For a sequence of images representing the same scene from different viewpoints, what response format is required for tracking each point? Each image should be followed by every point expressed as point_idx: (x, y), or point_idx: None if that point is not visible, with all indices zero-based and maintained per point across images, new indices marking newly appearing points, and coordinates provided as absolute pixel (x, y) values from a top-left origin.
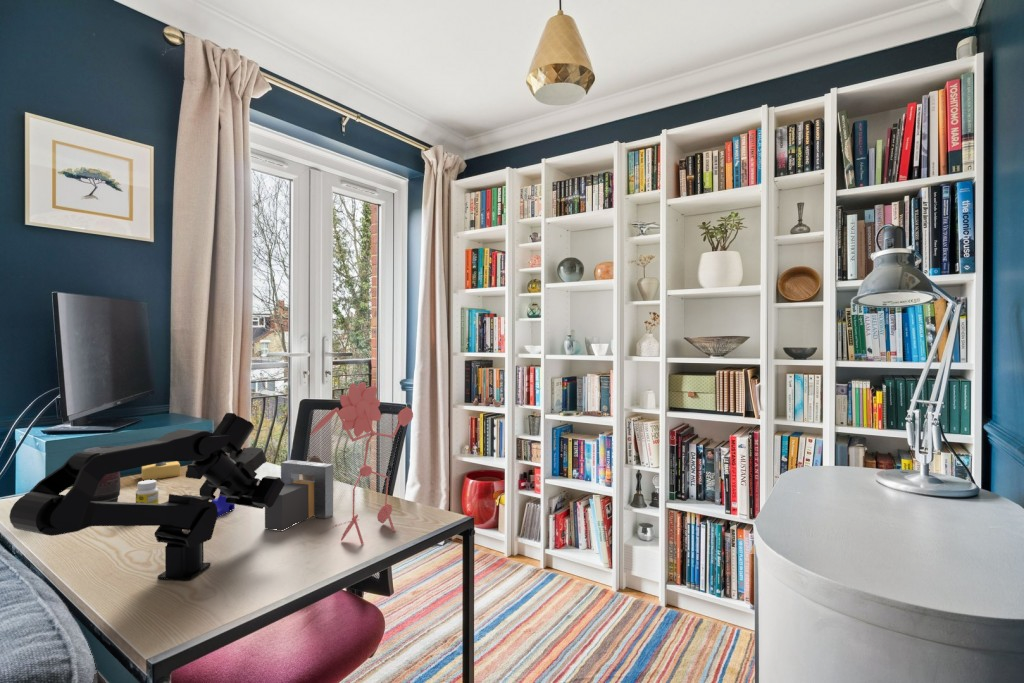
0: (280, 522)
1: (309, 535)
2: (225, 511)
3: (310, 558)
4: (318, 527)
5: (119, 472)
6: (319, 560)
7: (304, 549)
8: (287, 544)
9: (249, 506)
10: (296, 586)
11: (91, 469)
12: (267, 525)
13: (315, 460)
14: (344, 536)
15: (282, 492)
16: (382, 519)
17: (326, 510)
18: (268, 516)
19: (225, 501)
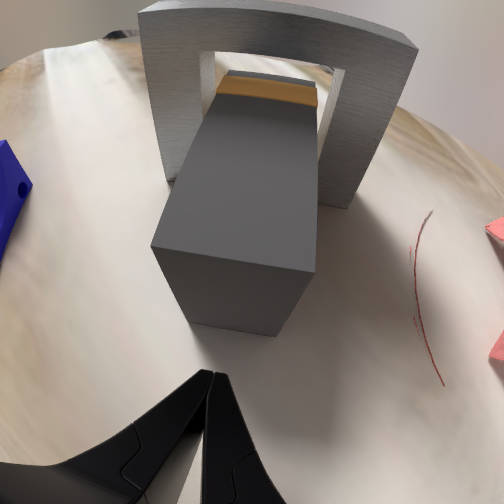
0: (272, 327)
1: (394, 346)
2: (15, 210)
3: (472, 473)
4: (376, 275)
5: None
6: (490, 468)
7: (438, 443)
8: (372, 437)
9: (182, 487)
10: None
11: None
12: (199, 320)
13: None
14: (501, 350)
15: (272, 216)
16: (500, 231)
17: (356, 187)
18: (200, 308)
19: (2, 188)
